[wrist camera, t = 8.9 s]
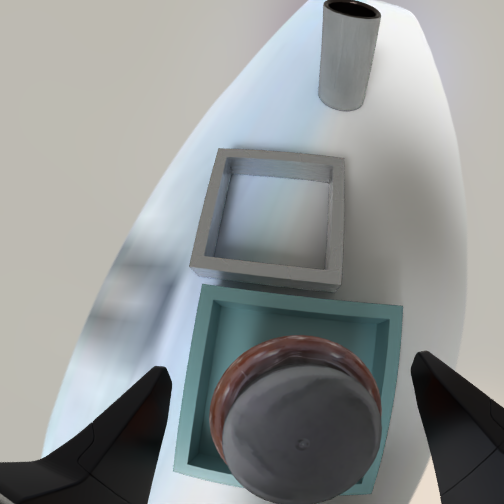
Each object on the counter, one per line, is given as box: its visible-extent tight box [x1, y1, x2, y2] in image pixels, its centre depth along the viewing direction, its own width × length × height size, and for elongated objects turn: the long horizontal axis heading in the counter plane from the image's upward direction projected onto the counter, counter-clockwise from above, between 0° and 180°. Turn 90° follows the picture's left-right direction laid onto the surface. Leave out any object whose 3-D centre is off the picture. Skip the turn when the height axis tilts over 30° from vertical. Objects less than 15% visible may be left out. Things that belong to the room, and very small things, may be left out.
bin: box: [173, 284, 403, 495], centre depth 15 cm, size 12×12×3 cm
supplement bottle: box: [209, 335, 382, 504], centre depth 11 cm, size 6×6×11 cm
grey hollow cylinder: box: [318, 0, 381, 111], centre depth 20 cm, size 4×4×10 cm
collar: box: [189, 148, 344, 293], centre depth 20 cm, size 9×9×2 cm
